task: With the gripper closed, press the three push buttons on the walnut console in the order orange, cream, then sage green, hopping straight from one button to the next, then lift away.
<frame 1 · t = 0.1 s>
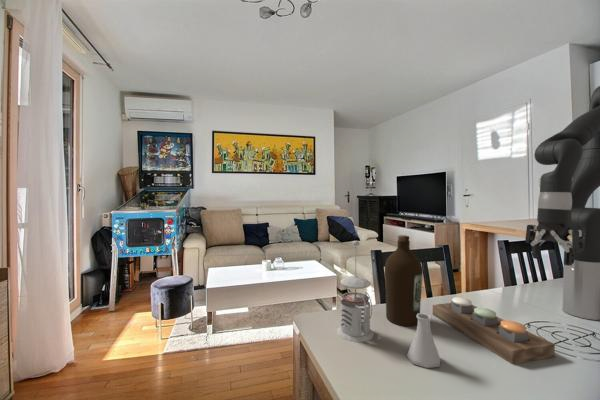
hand: (551, 261, 85), 17 cm above the table, tool pointing down, fingers open, 8 cm apart
button orange: (513, 332, 69), point 4 cm above the table, slide at 0.0 cm
button cream: (461, 306, 84), point 4 cm above the table, slide at 0.0 cm
olive oil: (402, 320, 85), on the table
button sage: (484, 318, 77), point 4 cm above the table, slide at 0.0 cm
french press: (356, 334, 76), on the table
console: (484, 332, 77), on the table
flask: (423, 360, 64), on the table
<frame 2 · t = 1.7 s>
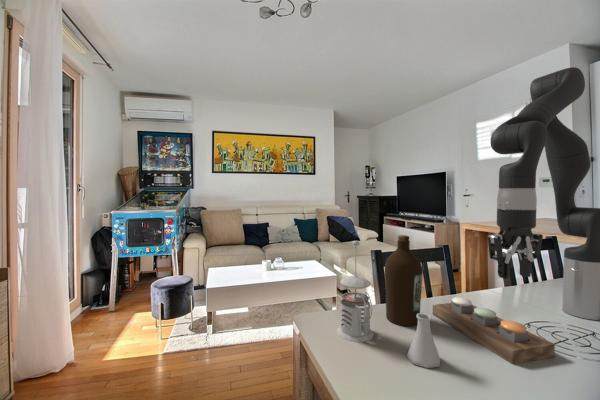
hand: (514, 276, 68), 18 cm above the table, tool pointing down, fingers open, 5 cm apart
nothing on the table moved.
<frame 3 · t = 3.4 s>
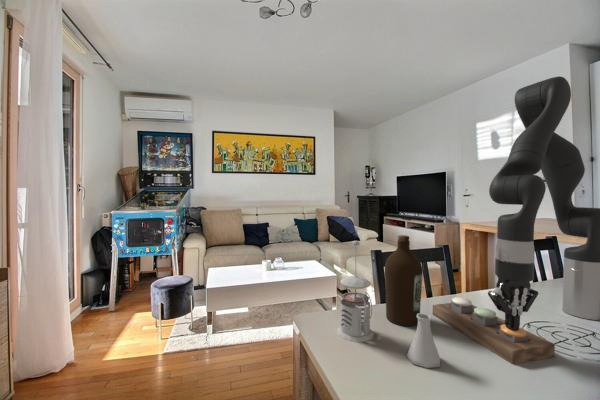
hand: (512, 329, 69), 5 cm above the table, tool pointing down, fingers closed
button orange: (512, 336, 69), point 3 cm above the table, slide at 1.0 cm, touching gripper
everything else where it was.
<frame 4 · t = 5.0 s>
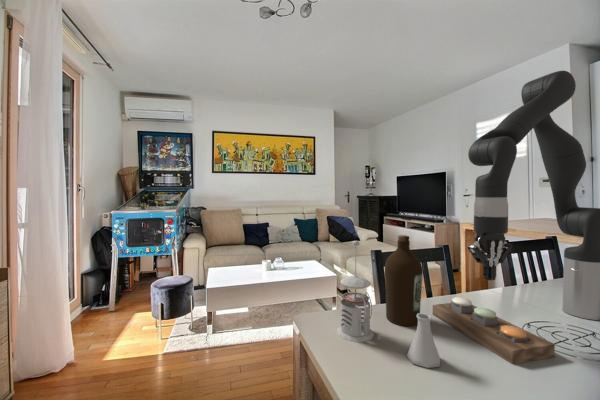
hand: (489, 279, 75), 15 cm above the table, tool pointing down, fingers closed
button orange: (512, 337, 69), point 3 cm above the table, slide at 1.3 cm
everything else where it was.
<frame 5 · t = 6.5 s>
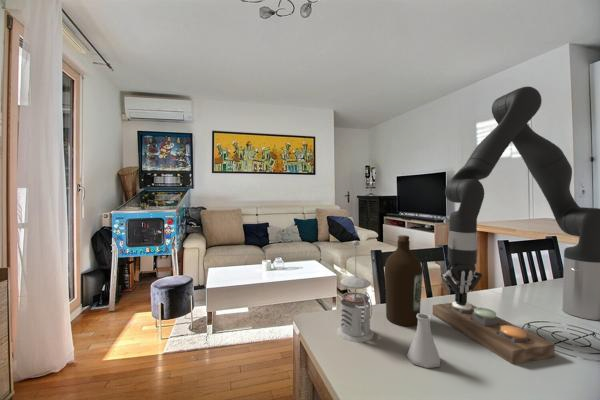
hand: (460, 304, 84), 5 cm above the table, tool pointing down, fingers closed
button cream: (461, 310, 84), point 3 cm above the table, slide at 1.2 cm, touching gripper
everything else where it was.
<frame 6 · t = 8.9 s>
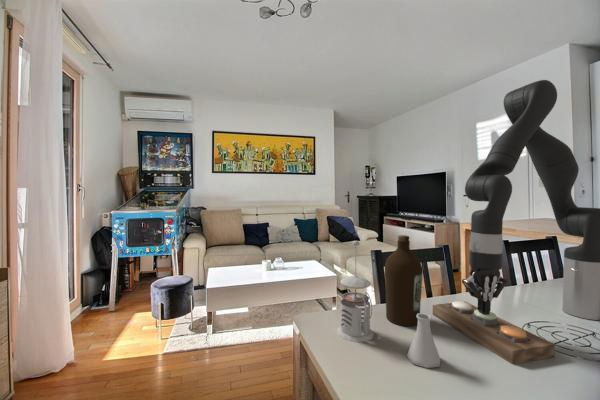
hand: (483, 313, 77), 5 cm above the table, tool pointing down, fingers closed
button cream: (461, 310, 84), point 3 cm above the table, slide at 1.3 cm
button sage: (484, 320, 77), point 3 cm above the table, slide at 0.6 cm, touching gripper
everything else where it was.
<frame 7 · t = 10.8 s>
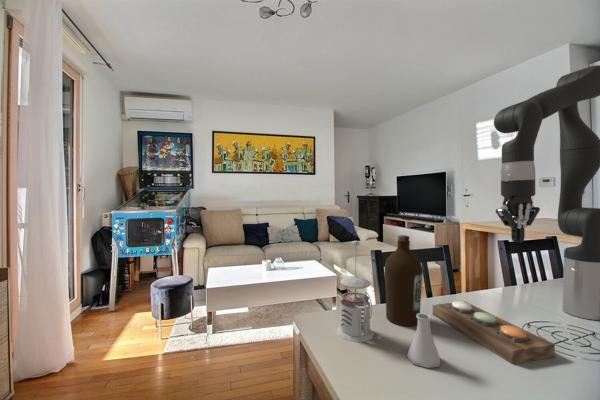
hand: (517, 241, 78), 24 cm above the table, tool pointing down, fingers closed
button sage: (484, 323, 77), point 3 cm above the table, slide at 1.3 cm
everything else where it was.
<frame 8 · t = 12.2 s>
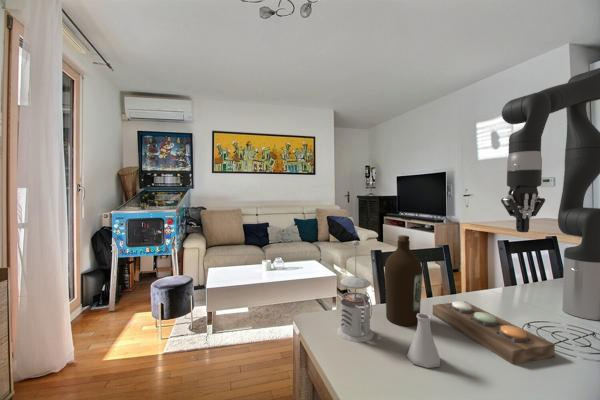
hand: (522, 231, 78), 27 cm above the table, tool pointing down, fingers closed
nothing on the table moved.
at the end: button orange slide at 1.3 cm; button cream slide at 1.3 cm; button sage slide at 1.3 cm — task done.
